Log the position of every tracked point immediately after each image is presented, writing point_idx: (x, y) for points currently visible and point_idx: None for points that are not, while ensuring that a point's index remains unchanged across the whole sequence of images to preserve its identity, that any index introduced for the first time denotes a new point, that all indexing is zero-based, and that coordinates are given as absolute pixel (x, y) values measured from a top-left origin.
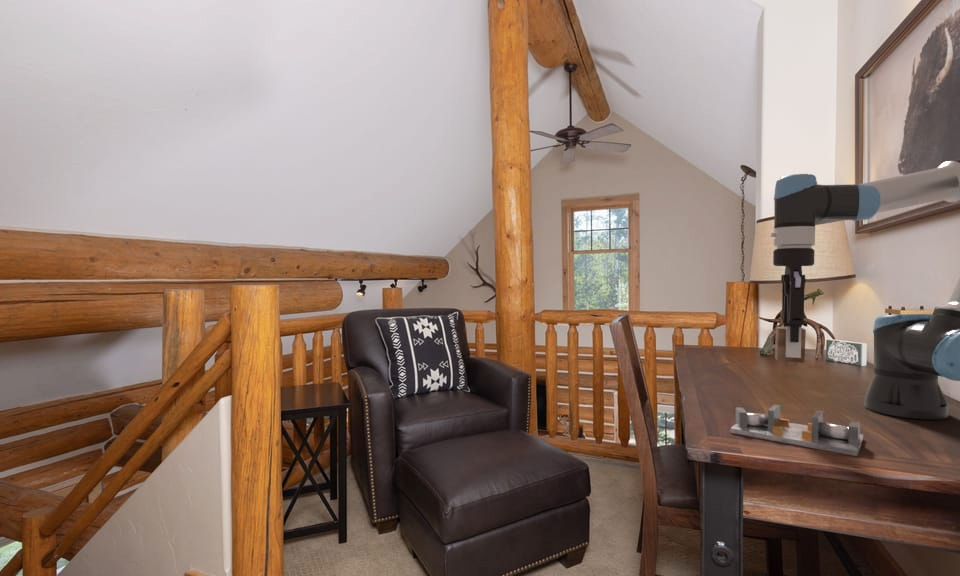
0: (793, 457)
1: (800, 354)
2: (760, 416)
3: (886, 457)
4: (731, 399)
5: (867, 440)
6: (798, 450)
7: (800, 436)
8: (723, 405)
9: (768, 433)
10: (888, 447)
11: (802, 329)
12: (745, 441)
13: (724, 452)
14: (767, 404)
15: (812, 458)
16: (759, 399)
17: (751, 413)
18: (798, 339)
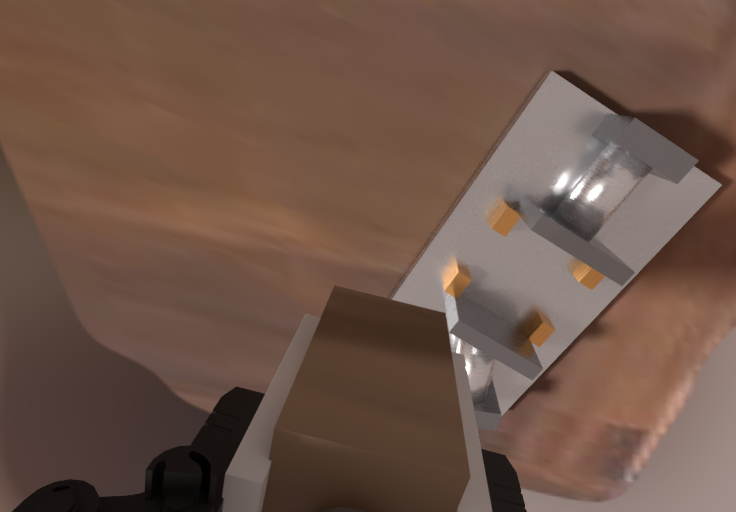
0: (688, 339)
1: (464, 369)
2: (490, 369)
3: (717, 88)
4: (100, 290)
5: (542, 53)
6: (634, 305)
7: (574, 281)
8: (191, 336)
9: (544, 350)
10: (619, 20)
11: (433, 487)
12: (556, 396)
13: (639, 461)
14: (130, 198)
15: (701, 299)
16: (63, 199)
17: (474, 388)
18: (515, 477)
